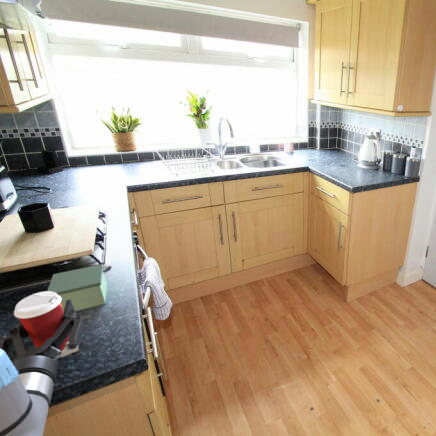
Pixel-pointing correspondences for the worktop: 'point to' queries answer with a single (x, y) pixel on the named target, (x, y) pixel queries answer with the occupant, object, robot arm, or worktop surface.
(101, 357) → the worktop surface
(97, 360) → the worktop surface
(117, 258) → the worktop surface
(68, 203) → the worktop surface
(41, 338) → the paper cup
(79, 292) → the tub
